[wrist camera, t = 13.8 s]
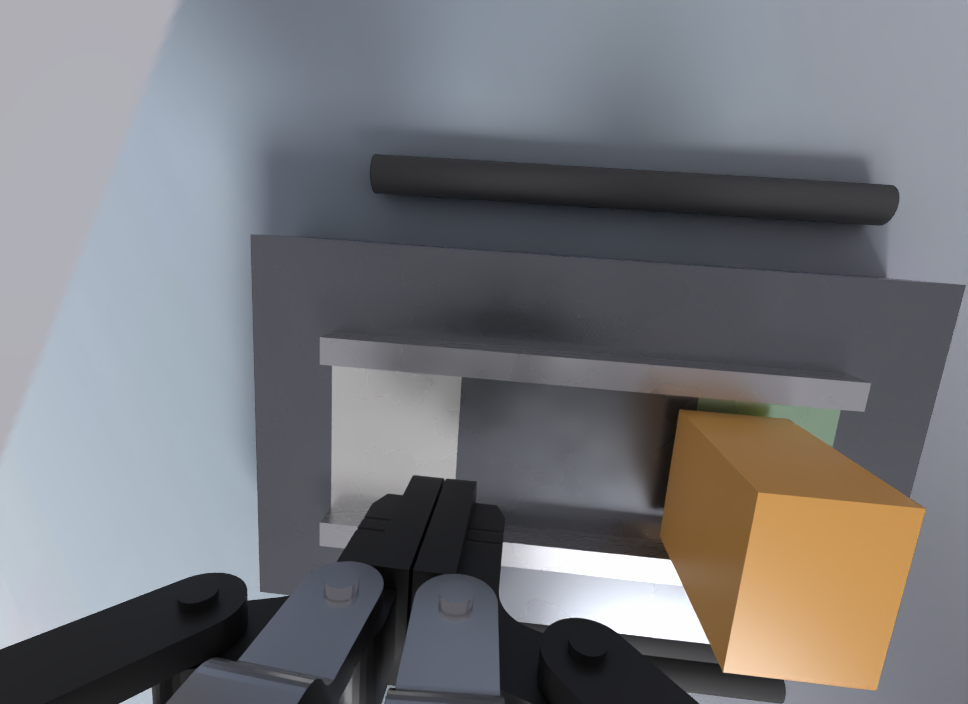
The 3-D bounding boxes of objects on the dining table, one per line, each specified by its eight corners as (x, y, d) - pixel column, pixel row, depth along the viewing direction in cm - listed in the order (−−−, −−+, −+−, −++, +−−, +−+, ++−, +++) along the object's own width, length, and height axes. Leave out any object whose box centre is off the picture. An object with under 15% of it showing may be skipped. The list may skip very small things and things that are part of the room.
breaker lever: (788, 418, 14) (926, 508, 9) (762, 546, 15) (876, 690, 10) (679, 409, 14) (758, 492, 10) (659, 536, 15) (723, 672, 10)
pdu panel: (888, 278, 17) (999, 288, 13) (813, 598, 19) (887, 688, 15) (295, 236, 18) (231, 233, 14) (298, 542, 20) (244, 612, 16)
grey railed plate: (876, 187, 16) (903, 182, 15) (766, 684, 20) (781, 711, 19) (323, 154, 17) (308, 147, 16) (322, 631, 21) (310, 653, 20)
